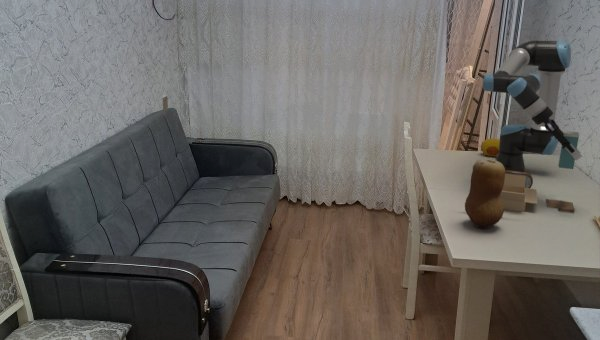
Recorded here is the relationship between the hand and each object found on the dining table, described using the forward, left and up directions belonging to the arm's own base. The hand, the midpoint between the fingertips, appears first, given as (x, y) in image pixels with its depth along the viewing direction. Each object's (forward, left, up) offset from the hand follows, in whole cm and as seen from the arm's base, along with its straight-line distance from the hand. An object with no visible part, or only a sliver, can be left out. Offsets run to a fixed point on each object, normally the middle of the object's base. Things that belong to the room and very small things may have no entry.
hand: (578, 156), depth 205 cm
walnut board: (-3, -2, -22) cm, 22 cm away
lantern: (-81, +26, -22) cm, 88 cm away
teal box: (-2, -3, -5) cm, 6 cm away
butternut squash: (+5, -46, -22) cm, 52 cm away
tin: (-28, -4, -22) cm, 36 cm away
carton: (-13, -21, -22) cm, 33 cm away
